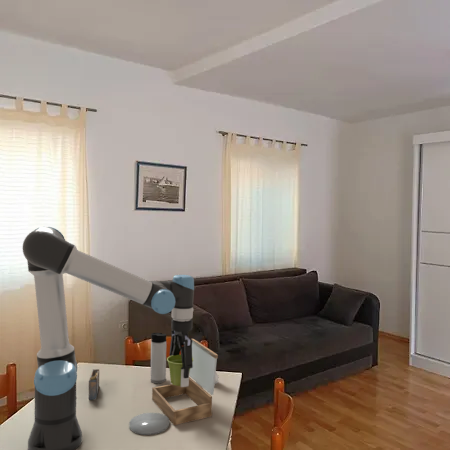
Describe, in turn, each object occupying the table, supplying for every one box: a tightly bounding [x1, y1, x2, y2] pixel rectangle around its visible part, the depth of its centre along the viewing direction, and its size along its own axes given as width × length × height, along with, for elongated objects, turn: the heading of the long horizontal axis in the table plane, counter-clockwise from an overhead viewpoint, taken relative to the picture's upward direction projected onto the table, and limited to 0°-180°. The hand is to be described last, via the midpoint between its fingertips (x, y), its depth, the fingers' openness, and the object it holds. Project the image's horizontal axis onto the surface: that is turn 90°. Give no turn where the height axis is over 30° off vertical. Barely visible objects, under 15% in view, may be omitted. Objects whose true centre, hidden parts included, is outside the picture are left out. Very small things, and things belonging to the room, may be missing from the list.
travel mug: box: [150, 332, 167, 384], centre depth 181 cm, size 6×7×20 cm
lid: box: [189, 338, 219, 396], centre depth 161 cm, size 14×21×1 cm
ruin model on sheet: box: [88, 368, 100, 400], centre depth 168 cm, size 11×3×10 cm, turn 10°
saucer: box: [128, 412, 170, 436], centre depth 145 cm, size 13×13×1 cm
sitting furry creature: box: [195, 371, 220, 387], centre depth 180 cm, size 10×9×12 cm
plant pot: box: [166, 354, 193, 386], centre depth 157 cm, size 9×9×9 cm
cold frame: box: [151, 376, 213, 426], centre depth 157 cm, size 14×22×7 cm, turn 28°
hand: (179, 381), depth 157 cm, fingers closed on plant pot, 8 cm apart
